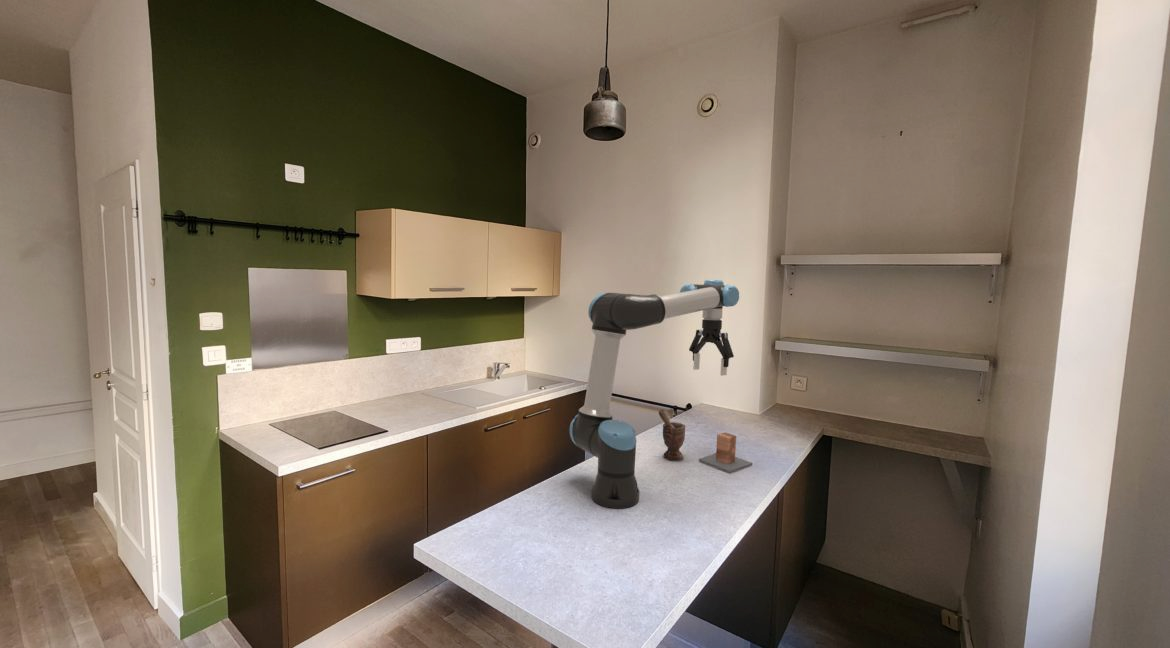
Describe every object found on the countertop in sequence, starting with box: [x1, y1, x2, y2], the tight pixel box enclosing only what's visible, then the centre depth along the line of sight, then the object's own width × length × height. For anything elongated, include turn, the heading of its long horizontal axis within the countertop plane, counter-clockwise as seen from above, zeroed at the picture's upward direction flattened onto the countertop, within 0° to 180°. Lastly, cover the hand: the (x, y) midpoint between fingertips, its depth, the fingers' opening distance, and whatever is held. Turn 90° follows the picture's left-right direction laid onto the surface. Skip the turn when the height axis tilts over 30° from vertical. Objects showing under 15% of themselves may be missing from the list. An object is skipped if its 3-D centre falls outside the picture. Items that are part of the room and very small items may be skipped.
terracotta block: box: [715, 432, 737, 464], centre depth 179 cm, size 5×5×10 cm
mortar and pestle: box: [658, 408, 686, 461], centre depth 182 cm, size 12×9×20 cm
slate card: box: [698, 453, 753, 474], centre depth 180 cm, size 14×14×1 cm
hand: (709, 372), depth 187 cm, fingers open, 13 cm apart
